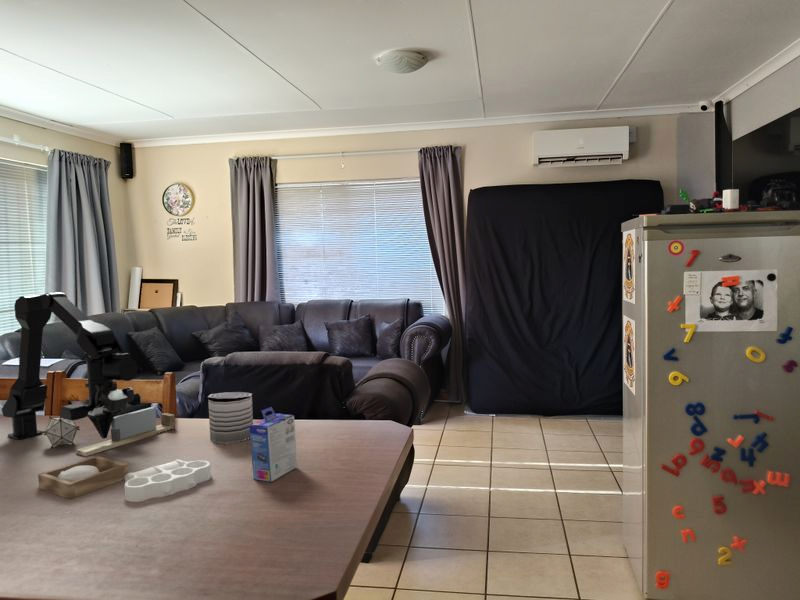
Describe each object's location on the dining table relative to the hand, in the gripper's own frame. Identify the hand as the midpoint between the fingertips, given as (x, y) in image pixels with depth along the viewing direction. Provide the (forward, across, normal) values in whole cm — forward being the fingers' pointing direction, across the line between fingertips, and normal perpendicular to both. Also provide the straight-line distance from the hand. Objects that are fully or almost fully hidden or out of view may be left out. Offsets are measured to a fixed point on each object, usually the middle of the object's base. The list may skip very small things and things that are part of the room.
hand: (104, 438), depth 151 cm
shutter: (+1, +9, 0) cm, 9 cm away
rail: (+2, +7, 0) cm, 7 cm away
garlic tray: (+2, -16, -19) cm, 25 cm away
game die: (+3, -4, +12) cm, 13 cm away
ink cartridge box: (+3, +8, -52) cm, 53 cm away
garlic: (+3, -17, -18) cm, 25 cm away
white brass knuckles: (+3, -8, -36) cm, 37 cm away
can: (+3, +22, -23) cm, 32 cm away
